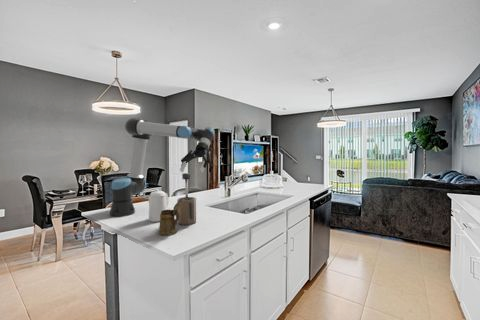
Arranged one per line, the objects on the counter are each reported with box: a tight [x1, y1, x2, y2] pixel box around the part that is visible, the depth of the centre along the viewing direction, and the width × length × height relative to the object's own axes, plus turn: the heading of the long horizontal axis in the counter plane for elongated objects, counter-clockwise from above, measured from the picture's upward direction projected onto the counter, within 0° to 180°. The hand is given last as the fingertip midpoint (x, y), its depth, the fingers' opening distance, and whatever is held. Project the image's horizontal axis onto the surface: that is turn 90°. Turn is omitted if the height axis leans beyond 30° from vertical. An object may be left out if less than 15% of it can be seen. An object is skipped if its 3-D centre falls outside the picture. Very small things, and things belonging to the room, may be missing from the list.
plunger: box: [181, 172, 191, 200], centre depth 134 cm, size 6×6×18 cm
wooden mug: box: [157, 199, 183, 237], centre depth 117 cm, size 9×14×18 cm, turn 73°
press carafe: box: [176, 196, 197, 226], centre depth 134 cm, size 12×10×14 cm
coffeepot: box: [144, 188, 169, 223], centre depth 141 cm, size 11×25×19 cm, turn 168°
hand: (190, 171), depth 138 cm, fingers open, 13 cm apart
